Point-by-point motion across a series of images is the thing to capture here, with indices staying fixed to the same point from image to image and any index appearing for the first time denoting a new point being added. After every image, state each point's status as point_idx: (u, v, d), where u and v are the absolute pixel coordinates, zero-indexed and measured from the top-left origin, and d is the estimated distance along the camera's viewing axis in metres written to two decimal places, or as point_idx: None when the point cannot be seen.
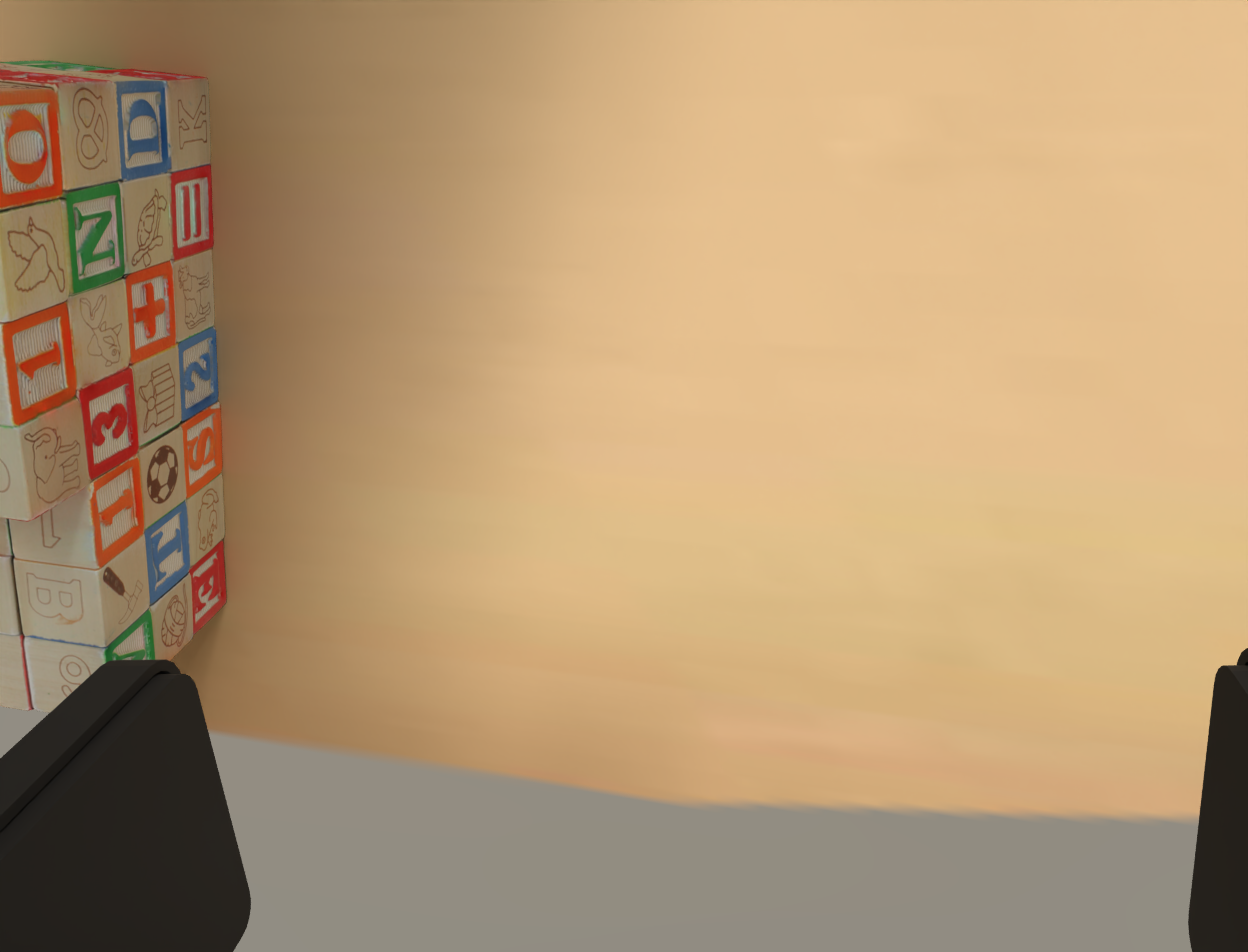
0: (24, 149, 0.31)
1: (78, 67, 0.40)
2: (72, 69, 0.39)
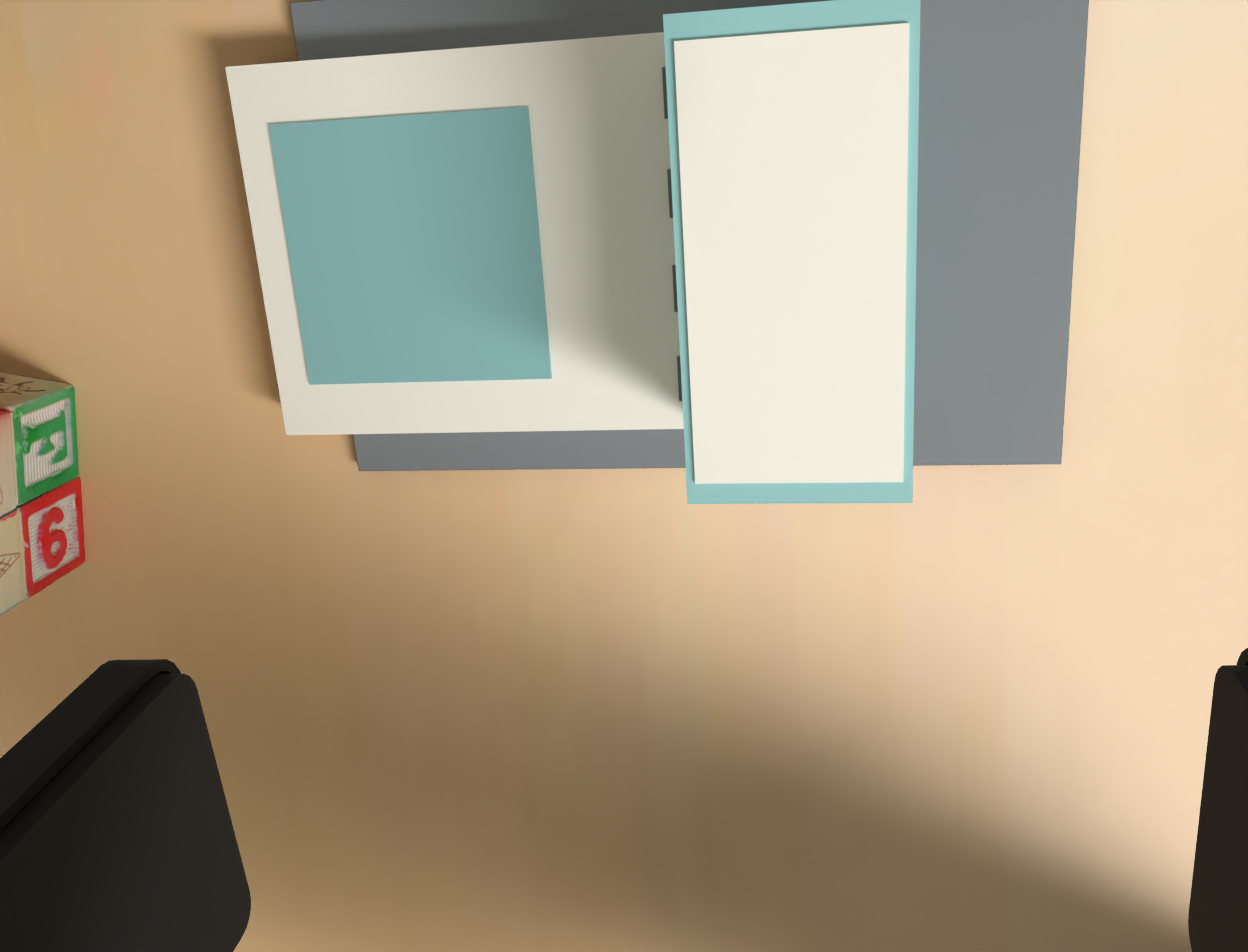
0: None
1: (62, 439, 0.35)
2: (46, 454, 0.34)
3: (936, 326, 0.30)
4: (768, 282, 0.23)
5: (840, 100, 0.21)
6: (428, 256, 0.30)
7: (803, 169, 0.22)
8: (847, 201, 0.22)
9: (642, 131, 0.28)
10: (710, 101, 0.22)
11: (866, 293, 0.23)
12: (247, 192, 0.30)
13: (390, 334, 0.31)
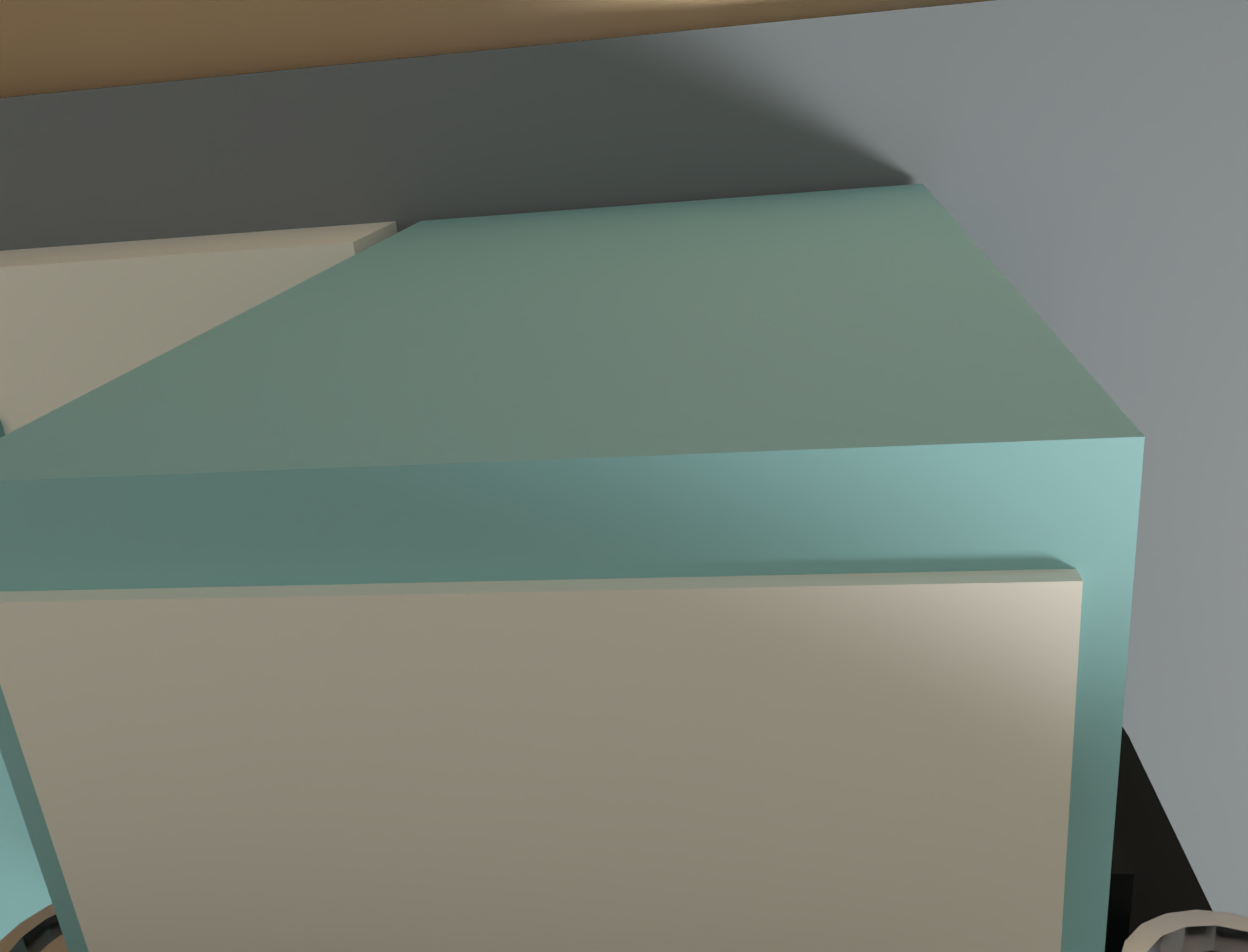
0: None
1: None
2: None
3: None
4: None
5: (747, 870, 0.05)
6: None
7: None
8: None
9: None
10: (190, 819, 0.05)
11: None
12: None
13: None
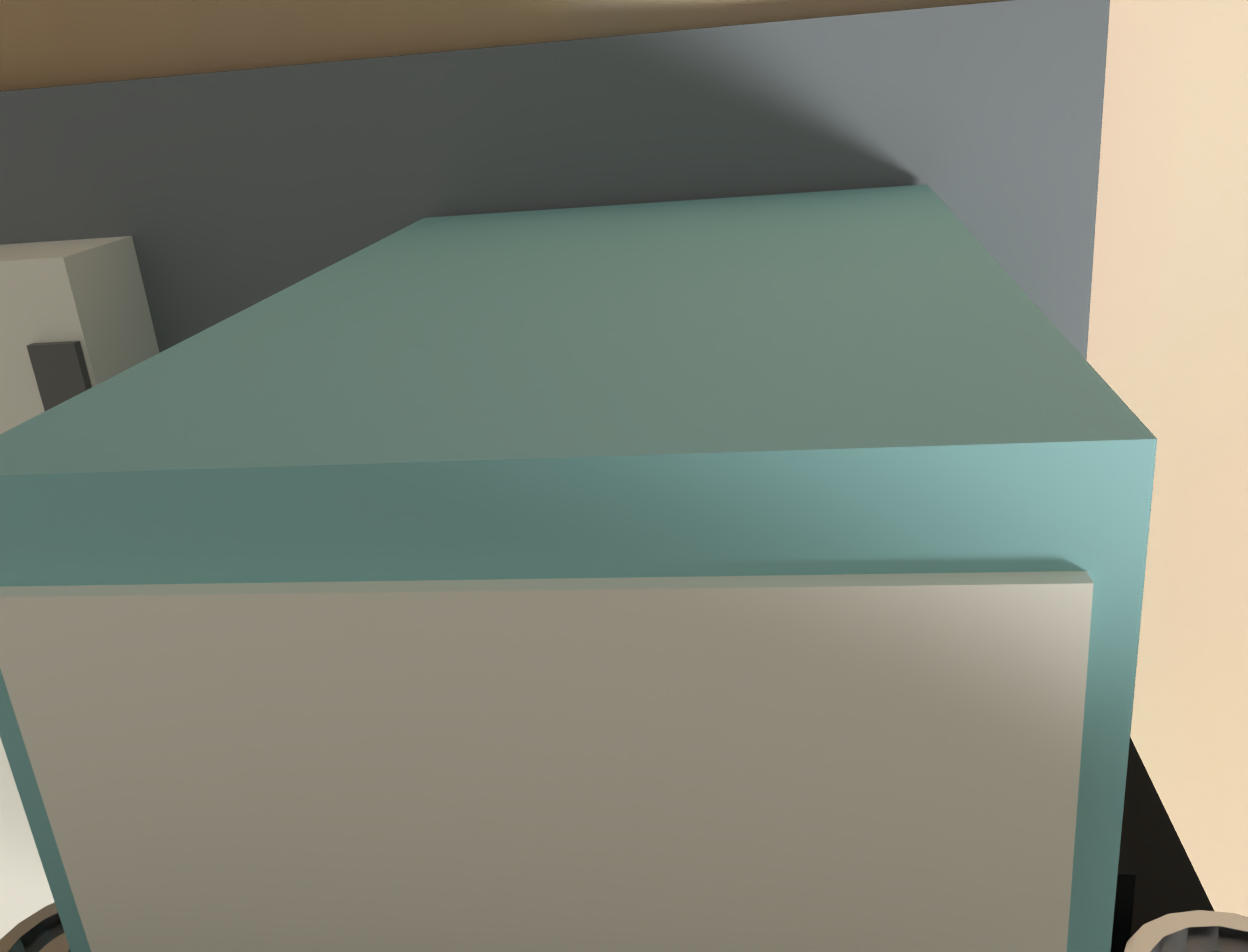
0: None
1: None
2: None
3: None
4: None
5: (752, 871, 0.05)
6: None
7: None
8: None
9: None
10: (193, 815, 0.05)
11: None
12: None
13: None
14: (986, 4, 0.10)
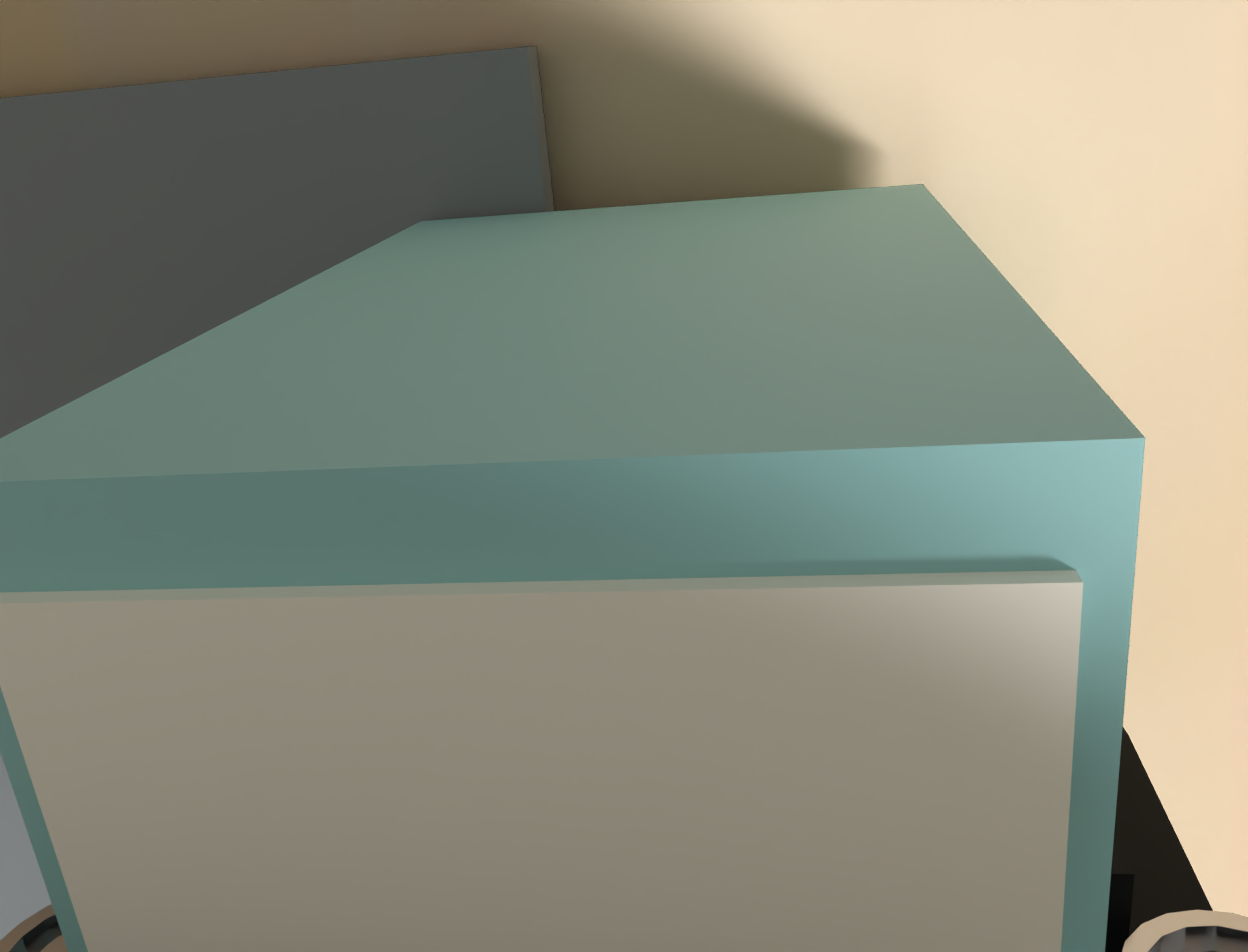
0: None
1: None
2: None
3: None
4: None
5: (747, 870, 0.05)
6: None
7: None
8: None
9: None
10: (190, 819, 0.05)
11: None
12: None
13: None
14: (421, 58, 0.11)
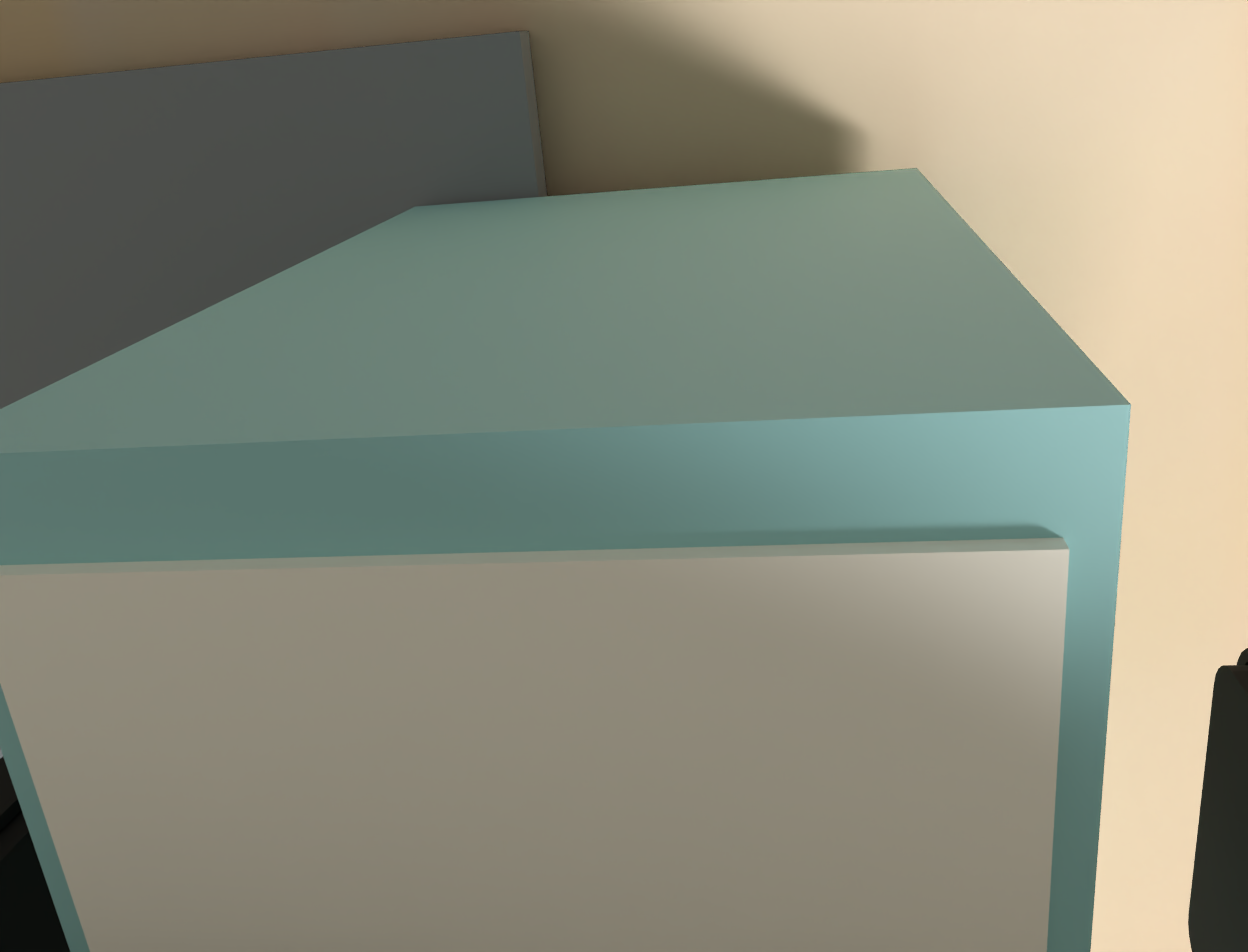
0: None
1: None
2: None
3: None
4: None
5: (737, 839, 0.05)
6: None
7: None
8: None
9: None
10: (182, 791, 0.05)
11: None
12: None
13: None
14: (413, 43, 0.11)
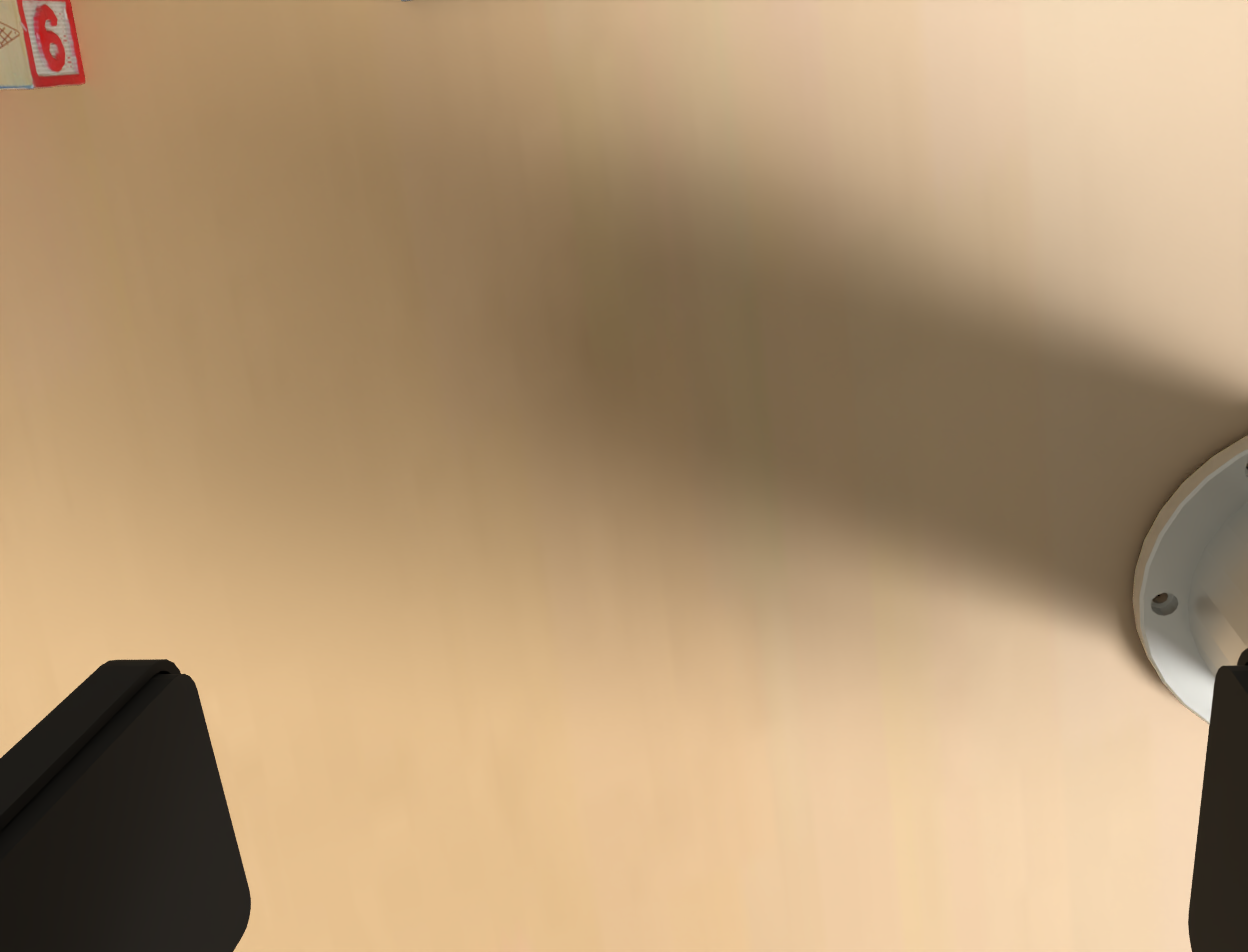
0: None
1: None
2: None
3: None
4: None
5: None
6: None
7: None
8: None
9: None
10: None
11: None
12: None
13: None
14: None
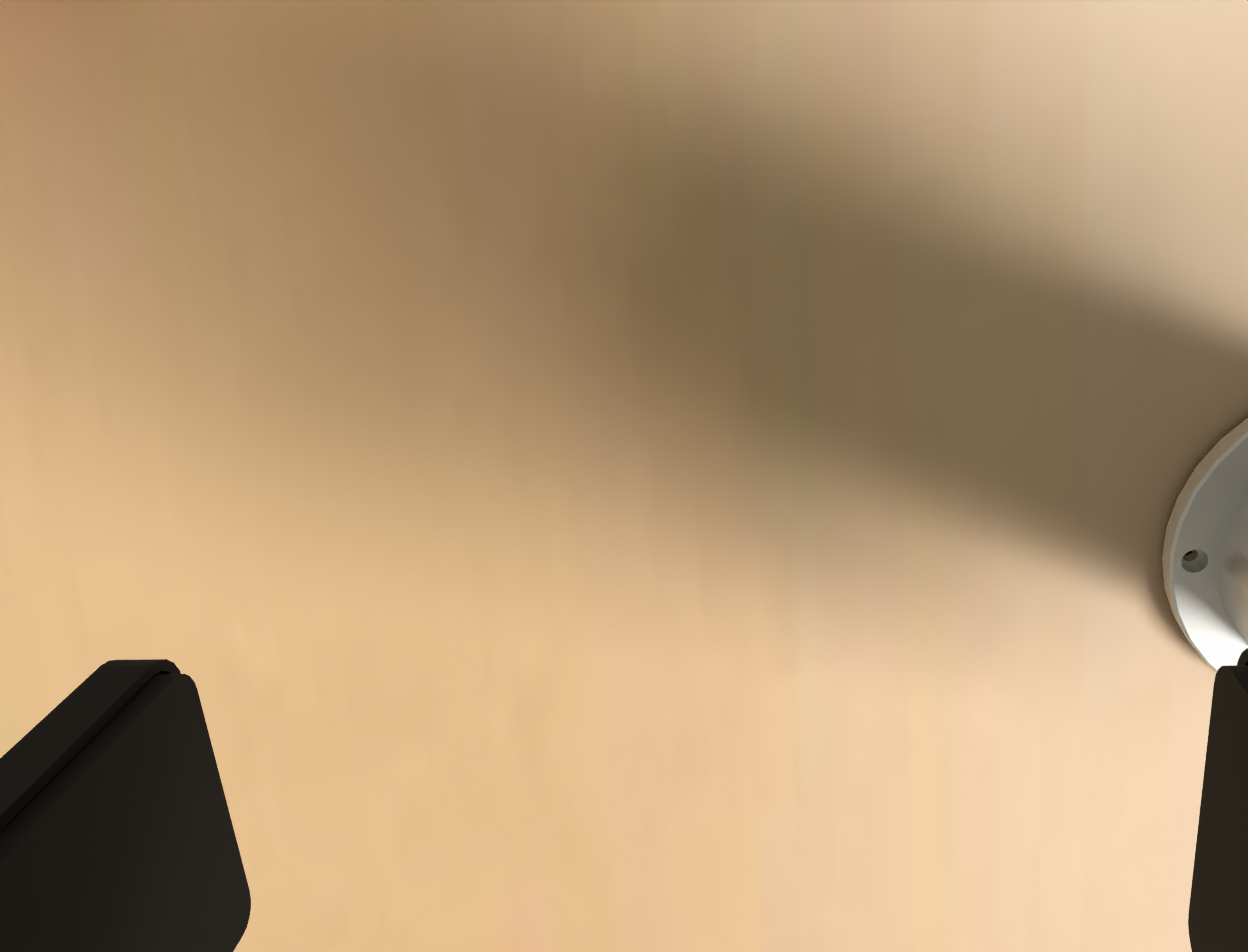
0: None
1: None
2: None
3: None
4: None
5: None
6: None
7: None
8: None
9: None
10: None
11: None
12: None
13: None
14: None
